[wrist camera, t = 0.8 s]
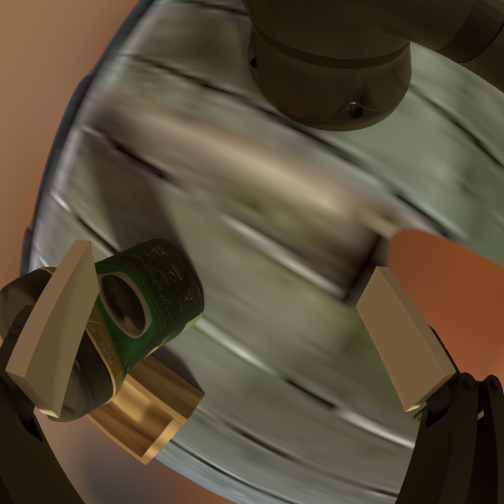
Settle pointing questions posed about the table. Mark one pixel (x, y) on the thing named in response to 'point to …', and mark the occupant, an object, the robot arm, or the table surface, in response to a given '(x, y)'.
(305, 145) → the table surface
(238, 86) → the table surface
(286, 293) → the table surface
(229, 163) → the table surface
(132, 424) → the pine crate
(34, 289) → the coffee jar
